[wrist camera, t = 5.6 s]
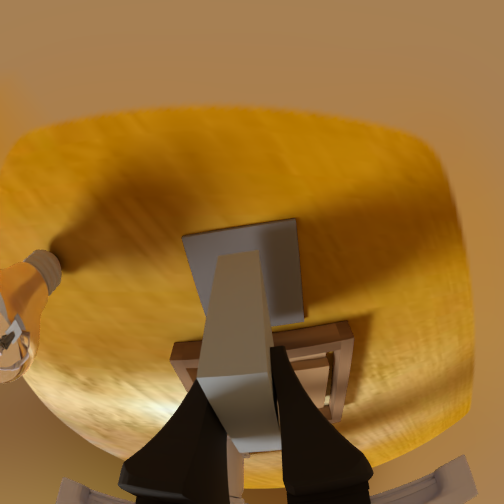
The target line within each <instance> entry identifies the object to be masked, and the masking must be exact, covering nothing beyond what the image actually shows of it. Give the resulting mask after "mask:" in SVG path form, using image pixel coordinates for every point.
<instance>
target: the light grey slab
mask: <svg viewBox="0 0 504 504" xmlns="http://www.w3.org/2000/svg"><path fill="white" fill-rule="evenodd" d="M270 347H274V343H273V336H272V330H271V323H270V317H269V311H268V305H267V299H266V293H265V287H264V280H263V274H262V268H261V262H260V256H259V250H255V251H248V252H241V253H234V254H227V255H221V256H218V259H217V264H216V269H215V274H214V279H213V285H212V290H211V295H210V301H209V306H208V312H207V317H206V323H205V329H204V334H203V340H202V346H201V352H200V358H199V364H198V371H197V377H196V378H197V380H198V382H199V384H200V386H201V388H202V389H203V391H204V393H205V395H206V397H207V399H208V401H209V402H210V404H211V406H212V408H213V410H214V411H215V413H216V415H217V417H218V418H219V420H220V422H221V424H222V425H223V427H224V429H225V430H226V432H227V434H228V435H229V437H230V438H231V440H232V442H233V443H234V445H235V447H236V448H237V450H238V451H239V453H246V452H262V451H273V450H282V449H281V432H280V417H279V405H278V400H277V395H276V390H275V385H274V379H273V374H272V368H271V360H270Z"/></svg>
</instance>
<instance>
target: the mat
mask: <svg viewBox="0 0 504 504" xmlns="http://www.w3.org/2000/svg"><path fill="white" fill-rule="evenodd" d="M182 241H183V245H184V248H185V252H186V255H187V258H188V262H189V265H190V268H191V272H192V275H193V278H194V281H195V285H196V288H197V291H198V294H199V297H200V300H201V303H202V306H203V309H204V312H205V315H206V317H207V312H208V306H209V301H210V295H211V290H212V285H213V279H214V274H215V269H216V264H217V259H218V256H221V255H227V254H234V253H241V252H248V251H255V250H259V256H260V262H261V268H262V274H263V280H264V287H265V293H266V299H267V305H268V311H269V317H270V323H271V326H278V325H285V324H292V323H298V322H304V312H303V297H302V283H301V271H300V259H299V248H298V238H297V228H296V220H295V218H293V219H286V220H279V221H273V222H266V223H259V224H253V225H246V226H240V227H233V228H227V229H221V230H215V231H209V232H203V233H197V234H191V235H185V236H182Z"/></svg>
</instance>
